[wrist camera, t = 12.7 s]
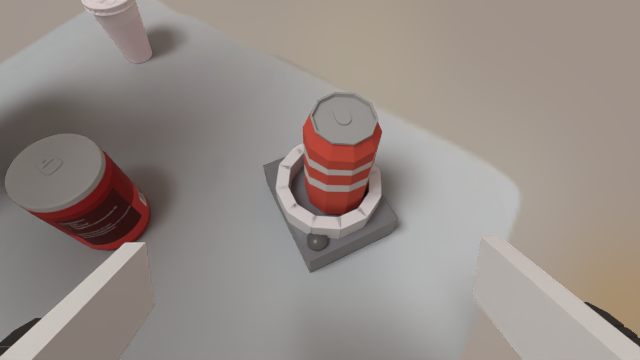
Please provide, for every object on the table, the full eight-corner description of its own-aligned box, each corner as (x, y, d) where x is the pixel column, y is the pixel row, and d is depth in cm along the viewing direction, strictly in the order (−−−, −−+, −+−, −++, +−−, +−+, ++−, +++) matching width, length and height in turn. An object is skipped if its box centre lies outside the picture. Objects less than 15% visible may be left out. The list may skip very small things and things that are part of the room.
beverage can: (353, 160, 39) (368, 80, 28) (371, 210, 36) (396, 141, 25) (300, 171, 38) (295, 93, 27) (314, 224, 35) (316, 158, 24)
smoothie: (168, 44, 54) (126, -54, 41) (150, 73, 50) (99, -24, 38) (129, 38, 54) (76, -60, 42) (109, 66, 51) (46, -32, 39)
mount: (265, 183, 42) (258, 153, 36) (341, 153, 44) (346, 120, 38) (308, 273, 36) (307, 254, 31) (392, 232, 39) (405, 208, 33)
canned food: (103, 183, 41) (40, 124, 32) (165, 197, 40) (119, 142, 31) (64, 242, 37) (-20, 196, 28) (132, 260, 37) (69, 219, 27)
